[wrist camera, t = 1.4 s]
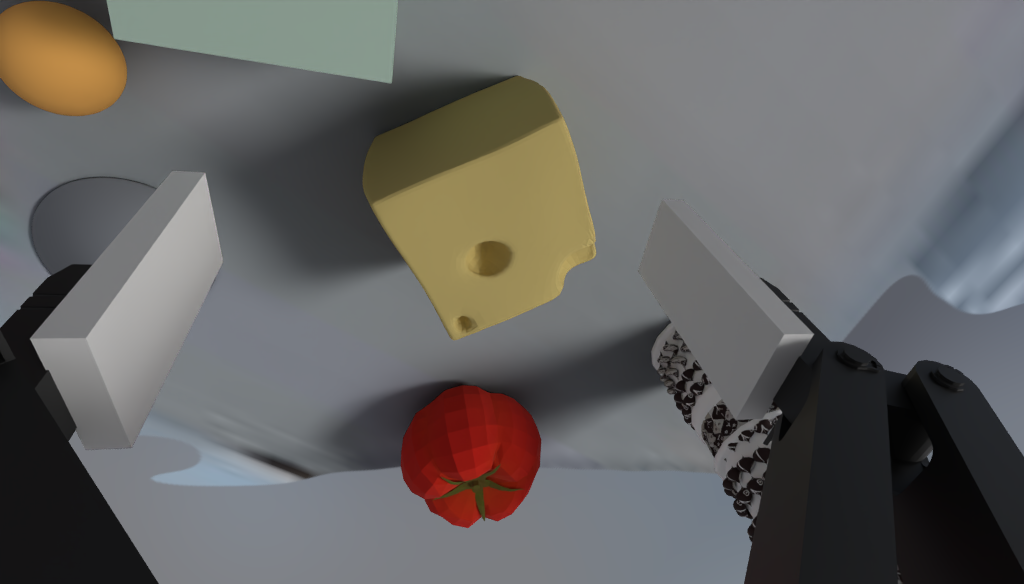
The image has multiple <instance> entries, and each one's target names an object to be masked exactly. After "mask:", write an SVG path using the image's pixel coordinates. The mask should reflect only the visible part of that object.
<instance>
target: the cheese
mask: <svg viewBox="0 0 1024 584" xmlns="http://www.w3.org/2000/svg"><path fill="white" fill-rule="evenodd" d="M363 189H364V193H365V196H366V198H367V200H368V202H369V204H370V206H371V208H372V210H373V212H374V214H375V215H376V217H377V219H378V220H379V222H380V224H381V226H382V227H383V229H384V230H385V232H386V234H387V235H388V237H389V238H390V240H391V241H392V243H393V244H394V246H395V247H396V249H397V250H398V251H399V253H400V254H401V256H402V257H403V259H404V260H405V262H406V263H407V264H408V266H409V267H410V269H411V270H412V272H413V273H414V275H415V276H416V278H417V279H418V281H419V283H420V284H421V286H422V287H423V289H424V290H425V292H426V294H427V296H428V297H429V299H430V301H431V302H432V304H433V306H434V308H435V310H436V312H437V314H438V315H439V317H440V319H441V321H442V323H443V325H444V327H445V329H446V330H447V332H448V334H449V336H450V338H451V339H452V340H457V339H460V338H463V337H465V336H468V335H470V334H473V333H476V332H478V331H481V330H483V329H485V328H488V327H490V326H493V325H496V324H499V323H501V322H503V321H505V320H508V319H510V318H513V317H515V316H517V315H520V314H522V313H524V312H526V311H528V310H531V309H533V308H535V307H537V306H540V305H542V304H544V303H546V302H549V301H551V300H553V299H554V298H555V297H557V296H558V295H560V292H561V290H562V289H563V285H564V279H565V276H566V274H567V272H568V271H569V270H570V269H571V268H573V267H574V266H576V265H578V264H581V263H584V262H586V261H589V260H591V259H593V258H594V257H595V255H596V248H595V245H594V243H595V241H596V240H595V231H594V226H593V222H592V218H591V215H590V211H589V207H588V203H587V199H586V195H585V191H584V186H583V182H582V177H581V172H580V168H579V164H578V159H577V156H576V152H575V149H574V146H573V143H572V140H571V137H570V134H569V131H568V128H567V125H566V123H565V120H564V118H563V116H562V114H561V112H560V111H559V109H558V107H557V105H556V103H555V102H554V100H553V98H552V97H551V95H550V94H549V92H548V91H547V90H546V89H545V88H544V87H543V86H541V85H539V84H538V83H537V82H535V81H532V80H529V79H526V78H523V77H521V76H515V77H513V78H510V79H508V80H505V81H503V82H500V83H498V84H495V85H493V86H491V87H488V88H486V89H483V90H481V91H478V92H476V93H473V94H471V95H469V96H466V97H464V98H462V99H459V100H457V101H455V102H452V103H450V104H448V105H446V106H443V107H441V108H439V109H437V110H435V111H432V112H430V113H428V114H426V115H424V116H422V117H420V118H417V119H415V120H413V121H411V122H409V123H406V124H404V125H402V126H400V127H397V128H395V129H392V130H390V131H388V132H385V133H383V134H380V135H378V136H376V137H375V138H374V140H373V142H372V144H371V146H370V148H369V151H368V153H367V156H366V159H365V164H364V170H363Z"/></svg>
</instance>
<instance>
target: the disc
mask: <svg viewBox="0 0 1024 584" xmlns="http://www.w3.org/2000/svg"><path fill="white" fill-rule="evenodd" d="M155 191H156V188H153V187H151V186H148V185H145V184H142V183H139V182H135V181H131V180H127V179H121V178H113V177H93V178H85V179H79V180H75V181H72V182H69V183H66V184H64V185H62V186H60V187H58V188H57V189H55V190H54V191H52V192H51V193H50V194H48V195H47V196H46V197H45V198H44V199H43V201H42V202H41V203H40V204H39V206H38V208H37V209H36V211H35V214H34V217H33V221H32V238H33V242H34V246H35V249H36V251H37V253H38V256H39V257H40V259H41V261H42V262H43V264H44V265H45V267H46V268H47V269H48V270H49V272H50V273H51V274H52V275H53V274H55V273H57V272H59V271H60V270H62V269H64V268H66V267H68V266H69V265H71V264H89V265H93V264H94V262H95V261H96V260H97V259H98V258H99V257H100V255H101V254H102V253H103V252H104V251H105V249H106V248H107V247H108V246H109V245H110V244H111V242H112V241H113V240H114V239H115V238H116V237H117V235H118V234H119V233H120V232H121V231H122V229H123V228H124V227H125V226H126V225H127V224H128V222H129V221H130V220H131V219H132V218H133V216H134V215H135V214H136V213H137V212H138V211H139V209H140V208H141V207H142V206H143V205H144V204H145V202H146V201H147V200H148V199H149V198H150V196H151V195H152V194H153V193H154V192H155ZM215 278H216V277H215ZM214 281H215V279H214ZM214 281H213V283H214ZM213 283H212V285H213ZM212 285H211V287H212ZM211 287H210V288H211ZM209 290H210V289H209Z"/></svg>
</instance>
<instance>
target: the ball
mask: <svg viewBox="0 0 1024 584" xmlns="http://www.w3.org/2000/svg"><path fill="white" fill-rule="evenodd" d="M0 78H1V79H2V80H3V82H4V83H5V84H6V85H7V86H8V87H9V88H10V89H11V90H12V91H13V92H14V93H16V94H17V95H18V96H19V97H21V98H22V99H24V100H25V101H27V102H28V103H30V104H32V105H34V106H36V107H38V108H40V109H43V110H45V111H48V112H52V113H55V114H60V115H67V116H85V115H90V114H95V113H98V112H100V111H103V110H105V109H106V108H108V107H110V106H111V105H112V104H114V103H115V102H116V101H117V99H118V98H119V97H120V96H121V94H122V92H123V90H124V88H125V85H126V80H127V67H126V62H125V58H124V56H123V53H122V51H121V49H120V47H119V45H118V44H117V42H116V41H115V39H114V38H113V37H112V35H111V34H110V33H109V32H108V31H107V30H106V29H105V28H104V27H103V26H102V25H101V24H100V23H98V22H97V21H96V20H95V19H93V18H92V17H90V16H89V15H87V14H85V13H83V12H81V11H79V10H77V9H75V8H73V7H70V6H67V5H64V4H60V3H56V2H49V1H29V2H23V3H20V4H17V5H14V6H12V7H10V8H8V9H6V10H5V11H4V12H3V13H1V14H0Z"/></svg>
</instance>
